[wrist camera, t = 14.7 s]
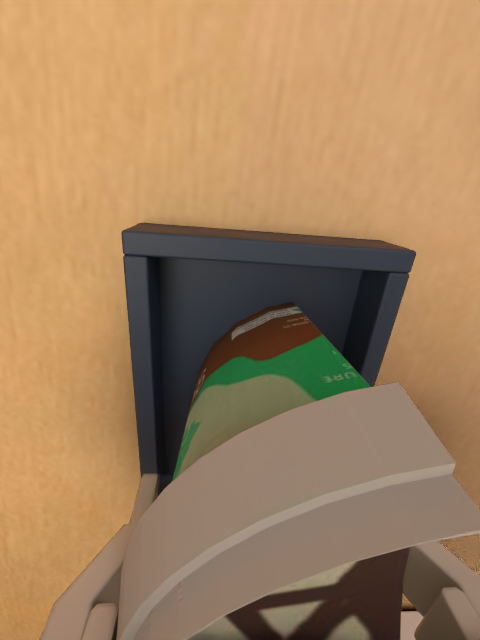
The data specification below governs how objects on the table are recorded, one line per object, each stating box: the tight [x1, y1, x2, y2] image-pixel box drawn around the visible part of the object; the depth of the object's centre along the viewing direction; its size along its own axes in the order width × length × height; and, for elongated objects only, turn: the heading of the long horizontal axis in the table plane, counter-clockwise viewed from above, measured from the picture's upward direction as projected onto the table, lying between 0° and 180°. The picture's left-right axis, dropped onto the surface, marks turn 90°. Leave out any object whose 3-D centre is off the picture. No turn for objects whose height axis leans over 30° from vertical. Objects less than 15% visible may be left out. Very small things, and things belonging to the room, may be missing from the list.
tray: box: [122, 223, 416, 478], centre depth 14 cm, size 16×10×2 cm, turn 175°
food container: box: [116, 302, 480, 640], centre depth 10 cm, size 12×6×10 cm, turn 6°
